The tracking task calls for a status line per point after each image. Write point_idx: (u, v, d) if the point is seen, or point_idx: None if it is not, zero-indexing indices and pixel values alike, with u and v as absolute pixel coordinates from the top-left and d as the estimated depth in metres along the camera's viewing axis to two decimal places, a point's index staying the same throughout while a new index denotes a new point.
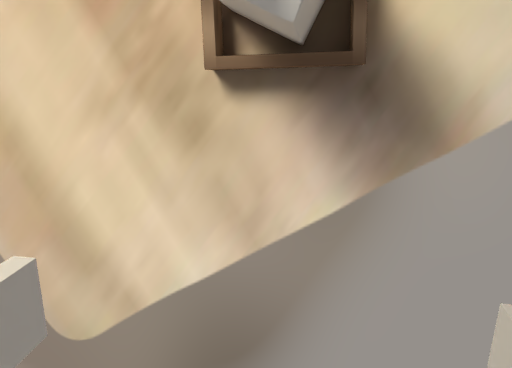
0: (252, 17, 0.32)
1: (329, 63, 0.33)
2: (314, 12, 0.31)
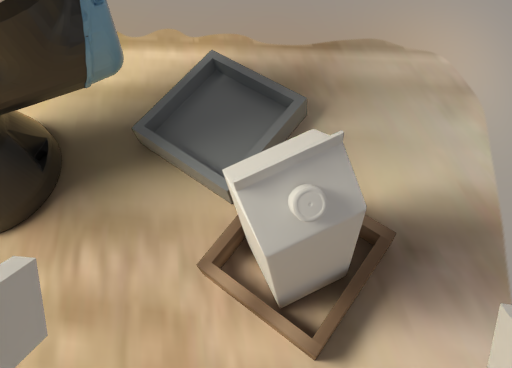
0: (309, 281, 0.35)
1: (379, 256, 0.37)
2: None
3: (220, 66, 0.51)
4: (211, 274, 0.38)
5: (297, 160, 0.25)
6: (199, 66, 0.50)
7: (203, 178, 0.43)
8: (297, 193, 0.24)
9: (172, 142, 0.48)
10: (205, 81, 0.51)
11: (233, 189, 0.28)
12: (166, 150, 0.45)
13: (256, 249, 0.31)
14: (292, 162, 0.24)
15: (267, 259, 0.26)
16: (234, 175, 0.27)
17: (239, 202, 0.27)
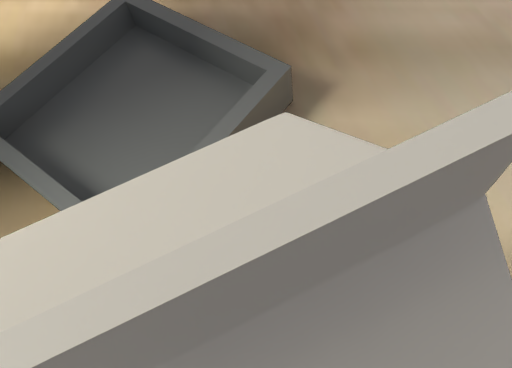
0: None
1: None
2: None
3: (140, 16, 0.29)
4: None
5: None
6: (100, 14, 0.28)
7: None
8: None
9: (41, 151, 0.25)
10: (116, 43, 0.29)
11: None
12: (12, 169, 0.23)
13: None
14: None
15: None
16: None
17: None
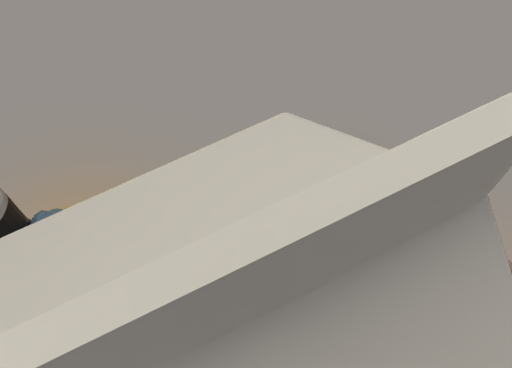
0: None
1: None
2: None
3: None
4: None
5: None
6: None
7: None
8: None
9: None
10: None
11: None
12: None
13: None
14: None
15: None
16: None
17: None
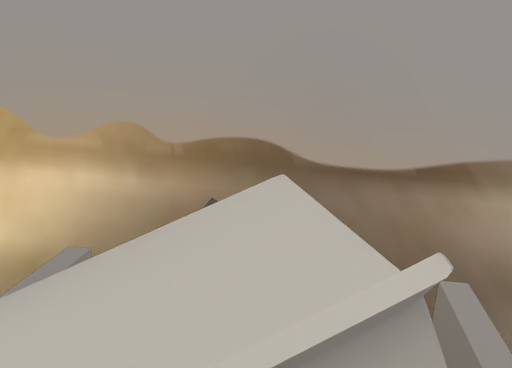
0: None
1: None
2: None
3: None
4: None
5: None
6: None
7: None
8: None
9: None
10: None
11: None
12: None
13: None
14: None
15: None
16: None
17: None
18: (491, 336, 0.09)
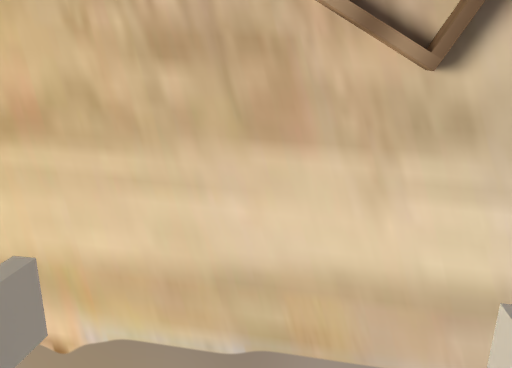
0: None
1: None
2: None
3: None
4: None
5: None
6: None
7: None
8: None
9: None
10: None
11: None
12: None
13: None
14: None
15: None
16: None
17: None
18: None
